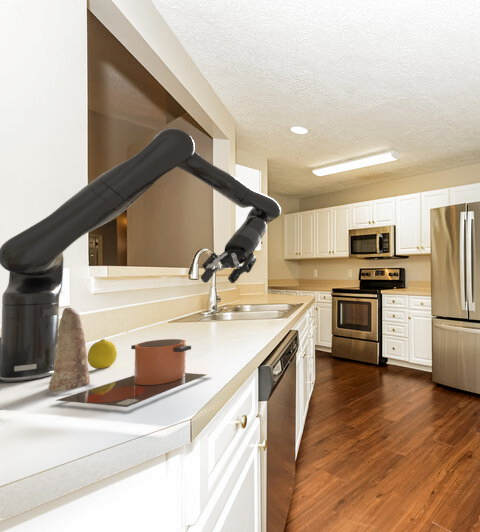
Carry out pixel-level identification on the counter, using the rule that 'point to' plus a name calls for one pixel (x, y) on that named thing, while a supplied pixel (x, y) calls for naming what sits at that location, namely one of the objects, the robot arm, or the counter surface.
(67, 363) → the tapered standing stone
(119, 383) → the hob
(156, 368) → the pot
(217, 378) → the counter surface
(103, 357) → the lemon
